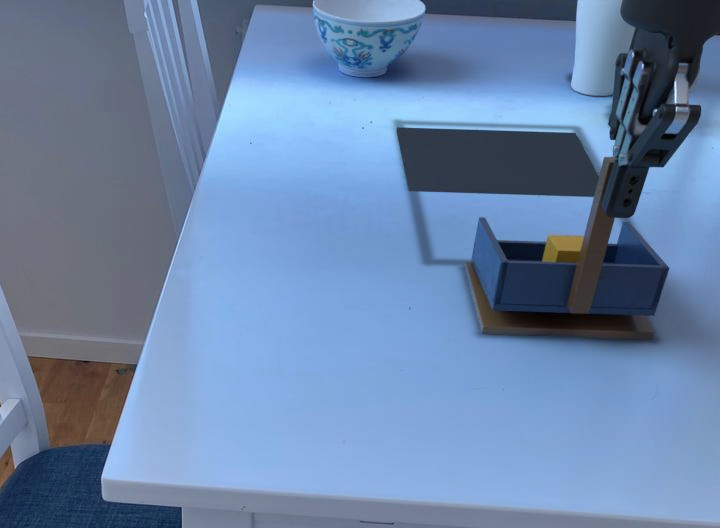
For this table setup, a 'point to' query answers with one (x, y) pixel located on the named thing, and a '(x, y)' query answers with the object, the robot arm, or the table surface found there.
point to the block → (562, 248)
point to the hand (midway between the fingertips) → (616, 213)
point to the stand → (553, 319)
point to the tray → (573, 269)
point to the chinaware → (367, 32)
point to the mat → (496, 162)
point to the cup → (599, 45)
